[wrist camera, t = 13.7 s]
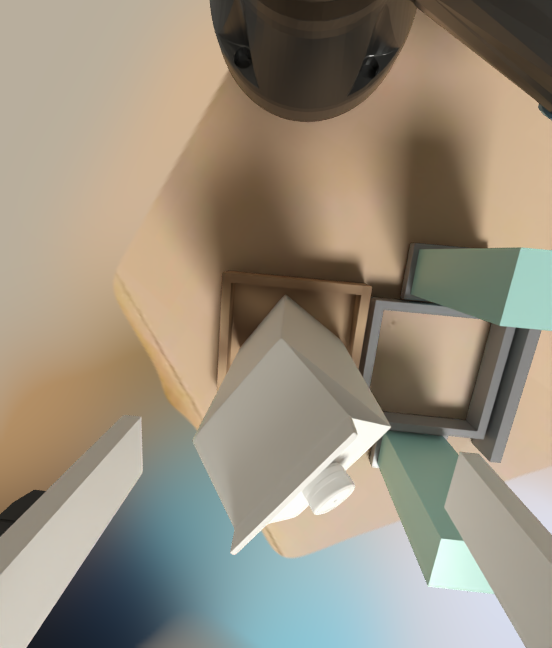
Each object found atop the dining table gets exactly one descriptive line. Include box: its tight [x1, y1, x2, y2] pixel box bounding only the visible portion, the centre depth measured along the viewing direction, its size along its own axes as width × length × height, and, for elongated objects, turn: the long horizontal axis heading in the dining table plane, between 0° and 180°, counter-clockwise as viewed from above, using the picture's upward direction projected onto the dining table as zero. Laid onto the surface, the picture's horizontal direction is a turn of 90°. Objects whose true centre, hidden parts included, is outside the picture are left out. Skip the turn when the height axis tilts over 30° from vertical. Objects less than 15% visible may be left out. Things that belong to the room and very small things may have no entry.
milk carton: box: [192, 294, 391, 555], centre depth 20 cm, size 7×7×19 cm
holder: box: [359, 243, 552, 594], centre depth 24 cm, size 23×14×13 cm, turn 175°
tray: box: [217, 271, 372, 392], centre depth 29 cm, size 13×13×3 cm
